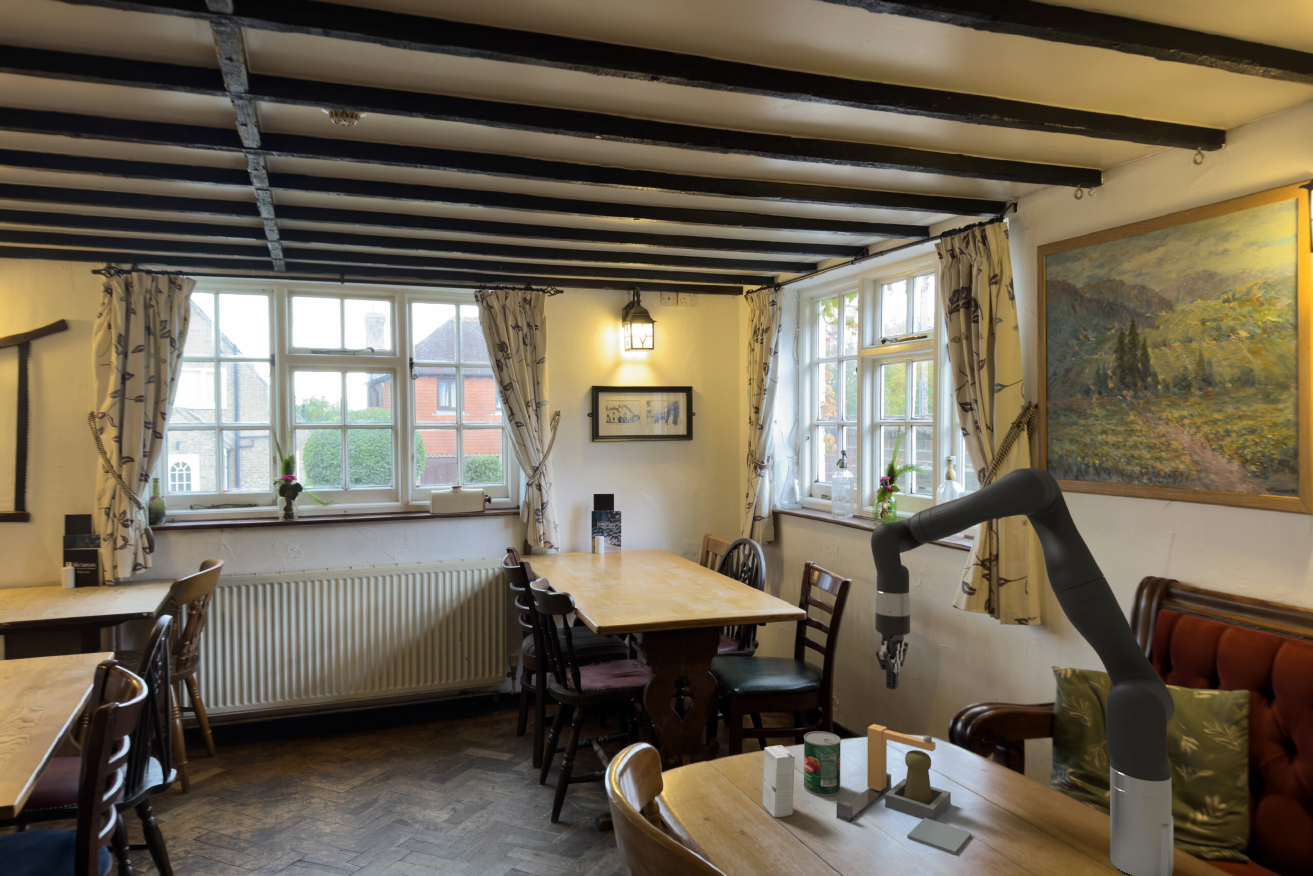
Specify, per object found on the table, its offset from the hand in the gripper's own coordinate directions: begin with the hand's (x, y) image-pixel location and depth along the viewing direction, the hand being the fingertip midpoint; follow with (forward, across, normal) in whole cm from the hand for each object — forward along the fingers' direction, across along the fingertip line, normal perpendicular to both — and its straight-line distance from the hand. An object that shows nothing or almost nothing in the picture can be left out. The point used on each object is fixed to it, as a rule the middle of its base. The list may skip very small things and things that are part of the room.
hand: (892, 688), depth 169 cm
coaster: (+21, -18, -17) cm, 32 cm away
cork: (+21, -8, -9) cm, 24 cm away
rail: (+21, -14, 0) cm, 25 cm away
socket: (+21, -8, -9) cm, 24 cm away
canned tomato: (+21, -14, +10) cm, 27 cm away
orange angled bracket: (+19, -8, -5) cm, 22 cm away
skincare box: (+21, -29, +12) cm, 38 cm away
